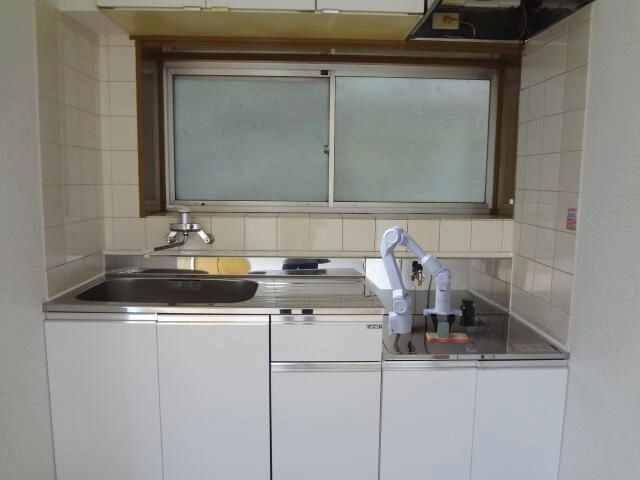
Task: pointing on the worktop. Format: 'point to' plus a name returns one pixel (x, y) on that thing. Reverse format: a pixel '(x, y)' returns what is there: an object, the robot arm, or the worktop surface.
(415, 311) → the worktop surface
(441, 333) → the tea box
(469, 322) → the supplement bottle
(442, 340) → the shelf board
